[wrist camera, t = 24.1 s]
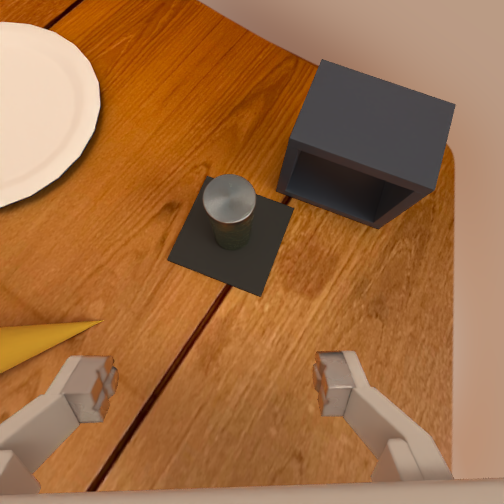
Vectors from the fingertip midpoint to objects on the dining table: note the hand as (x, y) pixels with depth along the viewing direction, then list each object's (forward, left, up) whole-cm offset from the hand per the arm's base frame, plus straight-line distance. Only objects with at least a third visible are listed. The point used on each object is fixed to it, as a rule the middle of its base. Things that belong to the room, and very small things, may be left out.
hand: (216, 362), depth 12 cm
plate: (+41, -15, -22) cm, 49 cm away
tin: (+5, -12, -21) cm, 25 cm away
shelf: (-5, -24, -22) cm, 33 cm away
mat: (+5, -12, -22) cm, 25 cm away
